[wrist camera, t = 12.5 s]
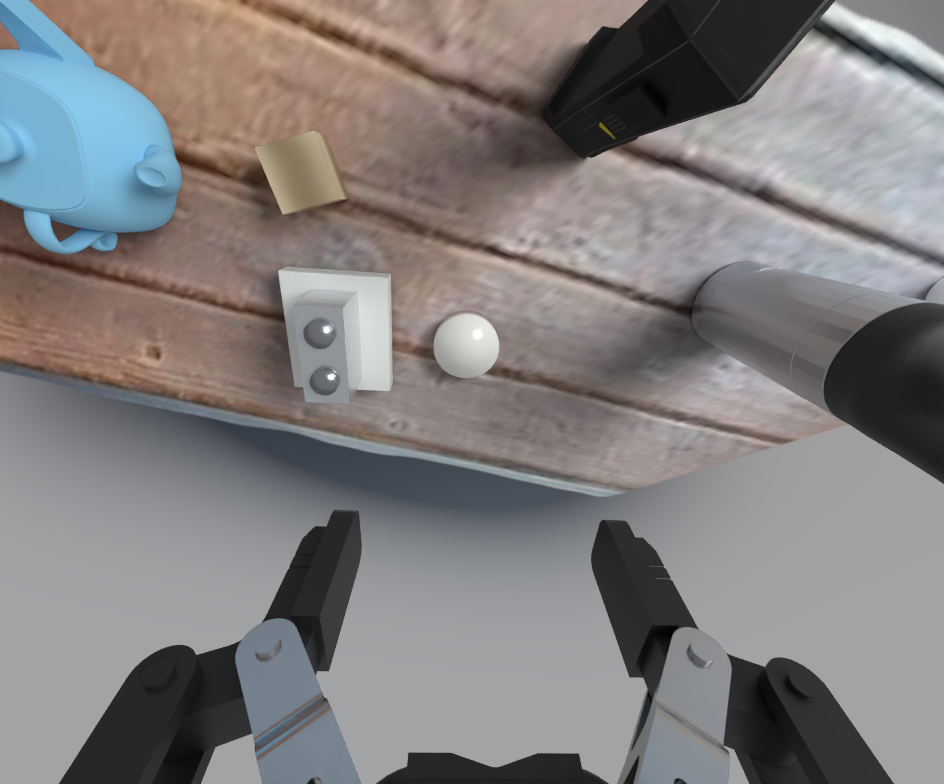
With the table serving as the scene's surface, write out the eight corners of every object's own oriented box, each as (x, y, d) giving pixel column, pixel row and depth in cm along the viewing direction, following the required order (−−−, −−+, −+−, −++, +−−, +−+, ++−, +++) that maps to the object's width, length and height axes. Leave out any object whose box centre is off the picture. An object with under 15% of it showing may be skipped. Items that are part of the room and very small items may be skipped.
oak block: (327, 137, 34) (313, 130, 31) (349, 198, 37) (338, 199, 33) (274, 152, 35) (254, 147, 31) (299, 212, 37) (282, 214, 33)
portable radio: (579, 174, 36) (781, 144, 14) (530, 127, 35) (676, 8, 12) (641, 91, 34) (1011, -106, 12) (592, 35, 32) (921, -326, 10)
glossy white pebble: (500, 312, 42) (502, 318, 40) (493, 372, 45) (495, 379, 43) (435, 308, 42) (434, 314, 40) (433, 369, 45) (432, 376, 43)
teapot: (117, 3, 30) (-54, -94, 20) (245, 184, 36) (164, 181, 25) (-17, 115, 32) (-229, 80, 22) (122, 266, 38) (4, 293, 28)
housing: (358, 291, 37) (341, 309, 31) (362, 376, 41) (348, 407, 35) (315, 288, 37) (289, 306, 31) (324, 375, 41) (303, 405, 35)
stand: (391, 272, 40) (387, 277, 37) (393, 379, 45) (389, 391, 42) (289, 265, 39) (278, 270, 36) (304, 375, 44) (294, 386, 41)
